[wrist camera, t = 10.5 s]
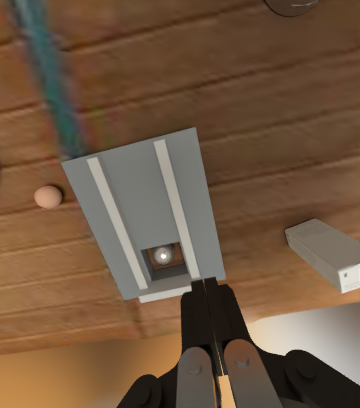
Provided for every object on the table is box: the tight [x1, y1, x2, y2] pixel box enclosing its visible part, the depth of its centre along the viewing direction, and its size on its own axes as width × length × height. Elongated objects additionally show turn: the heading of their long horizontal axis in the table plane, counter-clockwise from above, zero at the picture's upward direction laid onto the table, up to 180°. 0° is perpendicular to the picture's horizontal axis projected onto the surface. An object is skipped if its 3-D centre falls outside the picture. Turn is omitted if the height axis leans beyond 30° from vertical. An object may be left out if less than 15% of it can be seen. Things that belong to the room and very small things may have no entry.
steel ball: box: [152, 244, 175, 265], centre depth 33 cm, size 4×4×4 cm
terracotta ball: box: [35, 186, 62, 208], centre depth 30 cm, size 4×4×4 cm
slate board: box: [61, 127, 226, 303], centre depth 31 cm, size 27×20×6 cm
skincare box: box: [285, 218, 360, 293], centre depth 29 cm, size 6×4×12 cm
